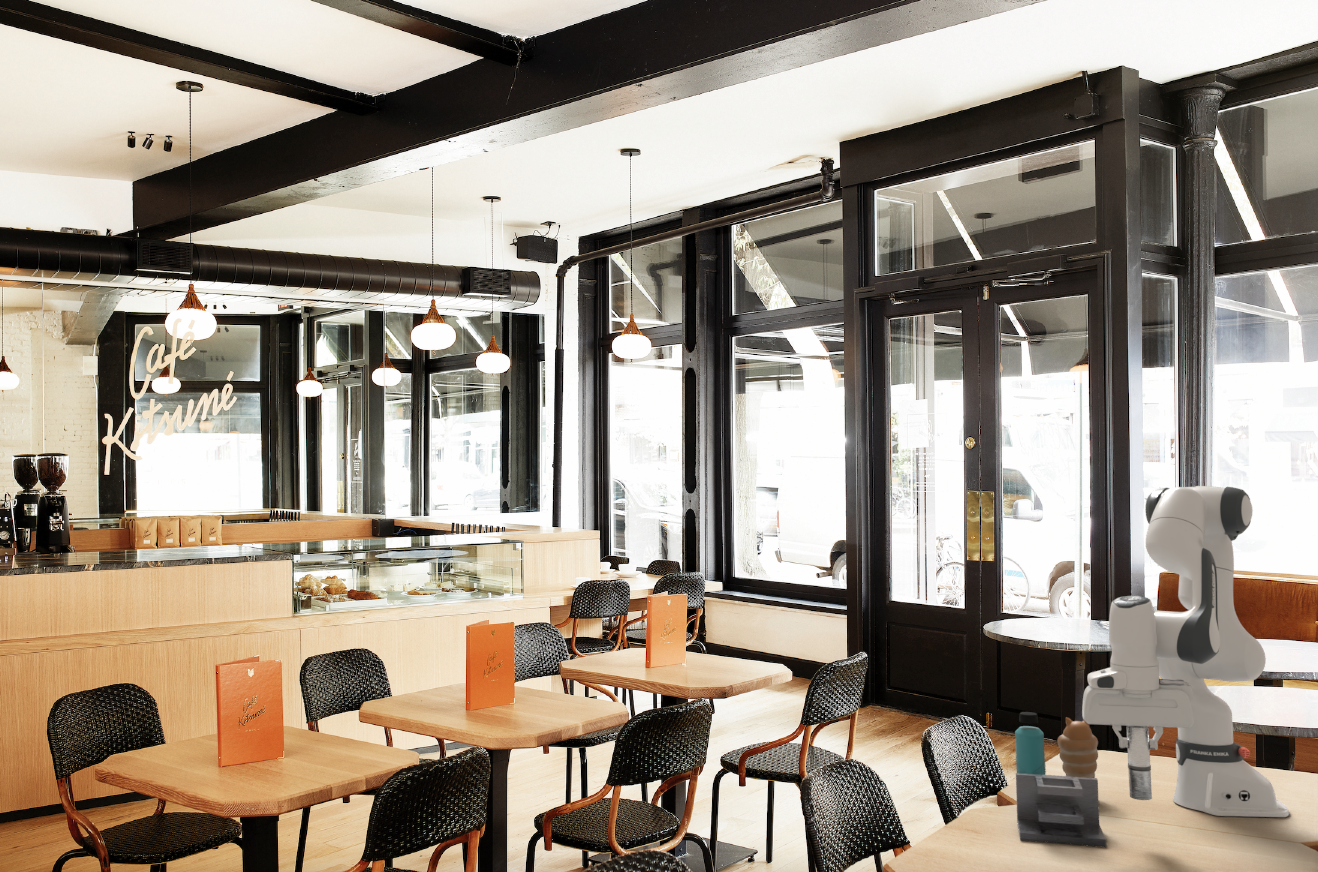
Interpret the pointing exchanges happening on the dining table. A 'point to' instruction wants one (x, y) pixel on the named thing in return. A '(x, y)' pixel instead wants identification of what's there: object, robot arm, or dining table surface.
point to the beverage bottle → (1029, 746)
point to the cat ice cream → (1078, 749)
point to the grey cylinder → (1139, 762)
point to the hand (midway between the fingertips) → (1138, 748)
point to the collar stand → (1058, 809)
